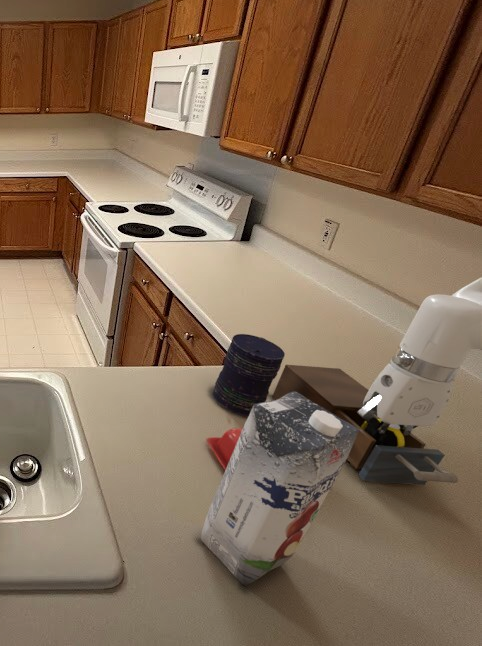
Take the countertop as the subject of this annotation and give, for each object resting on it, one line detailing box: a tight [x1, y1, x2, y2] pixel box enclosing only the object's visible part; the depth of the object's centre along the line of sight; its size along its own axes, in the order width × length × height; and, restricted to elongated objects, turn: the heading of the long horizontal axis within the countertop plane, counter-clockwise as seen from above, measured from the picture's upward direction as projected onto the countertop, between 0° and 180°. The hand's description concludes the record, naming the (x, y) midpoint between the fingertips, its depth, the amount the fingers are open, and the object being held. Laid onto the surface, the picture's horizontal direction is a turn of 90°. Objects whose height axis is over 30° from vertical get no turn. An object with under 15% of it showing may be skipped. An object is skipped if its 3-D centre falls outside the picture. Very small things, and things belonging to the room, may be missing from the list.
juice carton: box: [200, 391, 359, 586], centre depth 56 cm, size 9×10×27 cm
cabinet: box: [271, 364, 369, 414], centre depth 88 cm, size 14×13×9 cm
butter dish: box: [205, 427, 243, 471], centre depth 74 cm, size 12×12×8 cm
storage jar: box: [212, 333, 286, 418], centre depth 90 cm, size 10×10×18 cm
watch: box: [361, 419, 405, 447], centre depth 77 cm, size 6×3×6 cm, turn 17°
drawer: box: [333, 409, 459, 486], centre depth 76 cm, size 17×11×7 cm, turn 179°
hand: (377, 444), depth 78 cm, fingers closed on watch, 2 cm apart
